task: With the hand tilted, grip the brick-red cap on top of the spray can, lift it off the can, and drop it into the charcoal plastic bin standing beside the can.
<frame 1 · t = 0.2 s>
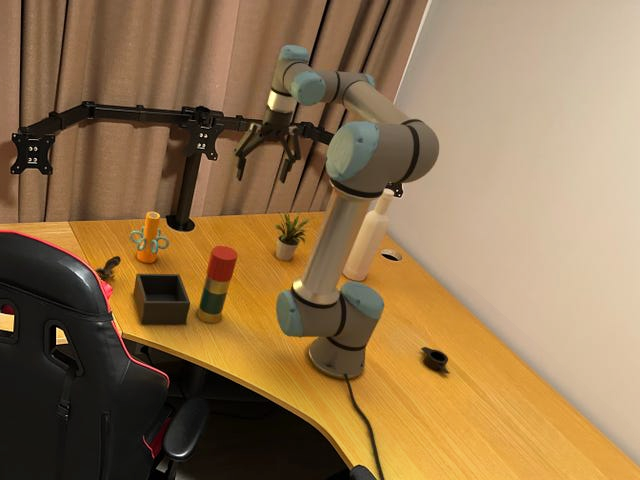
hand: (260, 180, 186), 28 cm above the table, tool pointing down, fingers open, 13 cm apart
bottle: (353, 274, 209), on the table
bin: (158, 309, 179), on the table
black flanged ring: (433, 364, 179), on the table
spray can: (208, 315, 180), on the table, touching cap
eagle figurine: (106, 278, 186), on the table
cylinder: (146, 258, 198), on the table
house plant: (279, 256, 211), on the table
cap: (219, 274, 171), point 14 cm above the table, touching spray can
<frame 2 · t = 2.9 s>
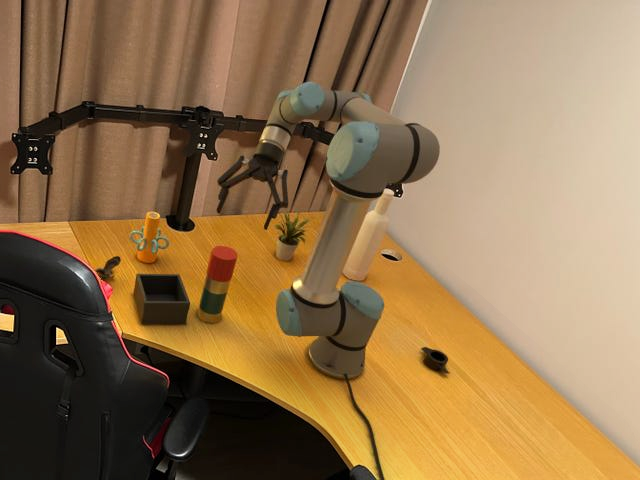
hand: (241, 219, 170), 26 cm above the table, tool tilted 45°, fingers open, 13 cm apart
nothing on the table moved.
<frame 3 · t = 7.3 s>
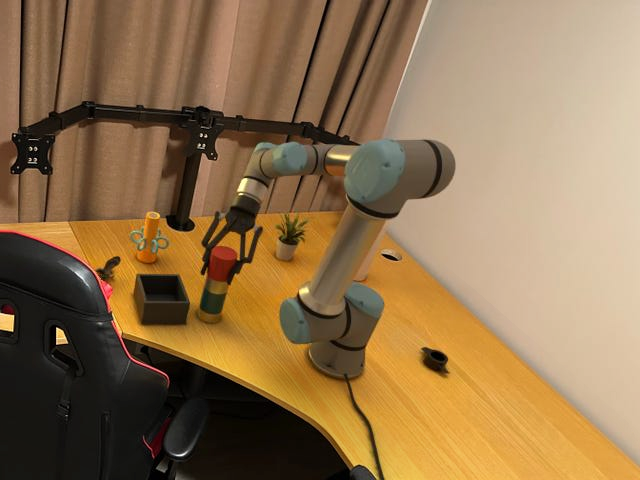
hand: (215, 278, 168), 15 cm above the table, tool tilted 45°, fingers closed on cap, 7 cm apart
cap: (219, 274, 171), point 14 cm above the table, touching gripper, spray can
everything else where it was.
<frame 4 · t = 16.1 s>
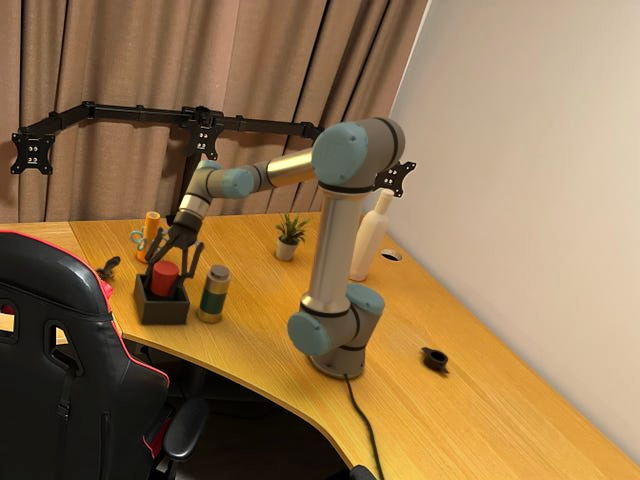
hand: (157, 293, 171), 8 cm above the table, tool tilted 45°, fingers closed on cap, 7 cm apart
spray can: (208, 315, 180), on the table
cap: (162, 289, 174), point 7 cm above the table, touching gripper
everything else where it was.
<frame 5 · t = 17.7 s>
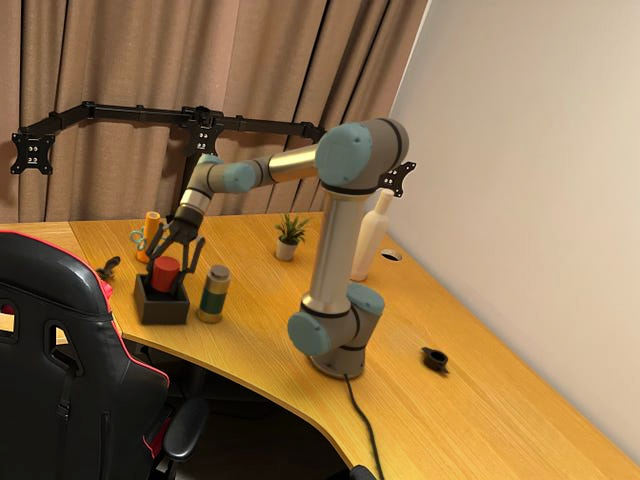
hand: (158, 288, 170), 9 cm above the table, tool tilted 45°, fingers closed on cap, 7 cm apart
cap: (163, 284, 173), point 8 cm above the table, touching gripper
everything else where it was.
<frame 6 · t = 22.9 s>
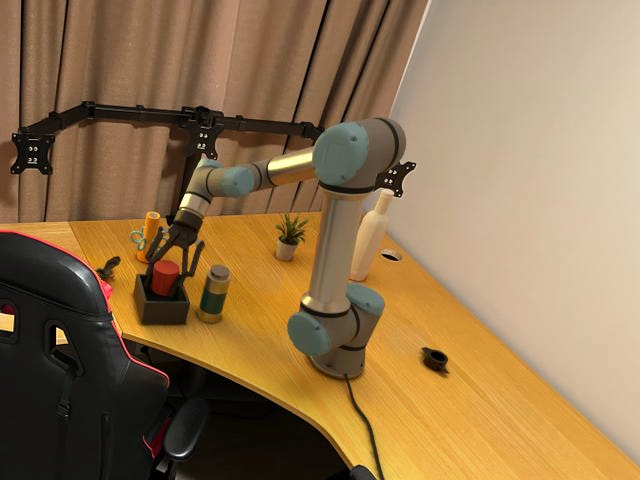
hand: (158, 292, 171), 8 cm above the table, tool tilted 45°, fingers closed on cap, 7 cm apart
cap: (163, 288, 174), point 7 cm above the table, touching gripper
everything else where it was.
when the fingers open (10 cm above the table, at t = 28.1 s): cap drops 9 cm, resting on bin.
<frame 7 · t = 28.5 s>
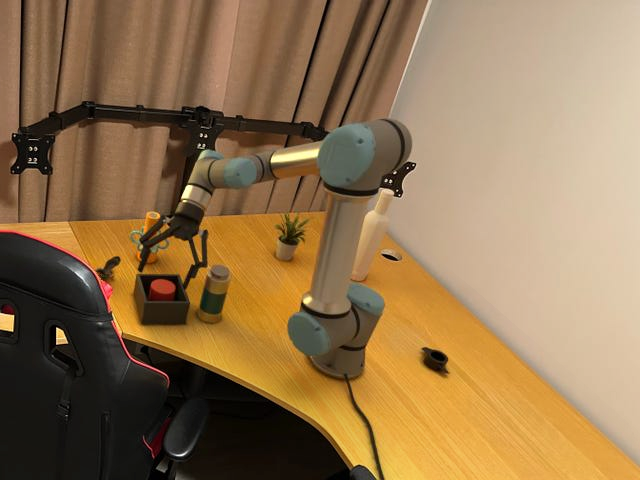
hand: (161, 279, 169), 11 cm above the table, tool tilted 45°, fingers open, 12 cm apart
cap: (159, 306, 178), point 1 cm above the table, touching bin
everything else where it was.
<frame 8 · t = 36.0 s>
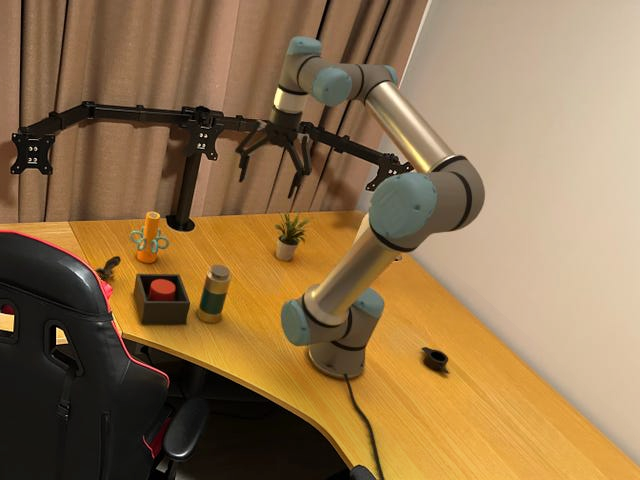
hand: (265, 188, 167), 35 cm above the table, tool pointing down, fingers open, 13 cm apart
nothing on the table moved.
at the end: cap inside the target area in the bin (0.1 cm from its centre), point 0.8 cm above the bin's base; the gripper is holding nothing; spray can tilted 0° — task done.
